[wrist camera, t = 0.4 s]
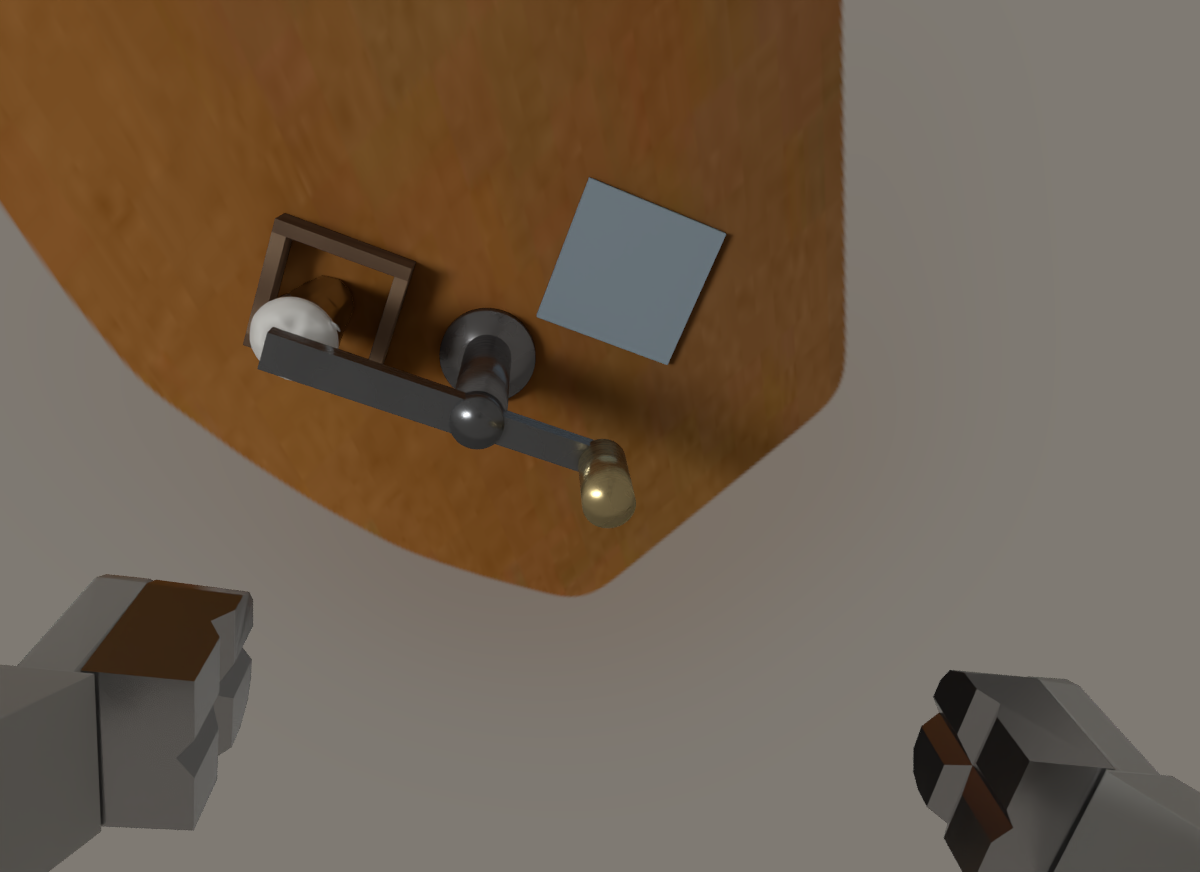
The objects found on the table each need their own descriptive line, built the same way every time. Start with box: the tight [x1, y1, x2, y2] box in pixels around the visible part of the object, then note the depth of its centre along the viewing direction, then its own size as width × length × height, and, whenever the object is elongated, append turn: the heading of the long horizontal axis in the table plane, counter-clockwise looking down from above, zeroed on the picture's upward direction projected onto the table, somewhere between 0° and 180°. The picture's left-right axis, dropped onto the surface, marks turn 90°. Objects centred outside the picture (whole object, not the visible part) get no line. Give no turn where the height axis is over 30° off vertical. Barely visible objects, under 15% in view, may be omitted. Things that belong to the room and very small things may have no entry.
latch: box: [258, 327, 636, 528], centre depth 42 cm, size 3×19×6 cm, turn 68°
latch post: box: [440, 308, 535, 410], centre depth 50 cm, size 6×6×10 cm
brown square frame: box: [243, 213, 416, 364], centre depth 52 cm, size 8×8×2 cm
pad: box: [537, 177, 726, 365], centre depth 53 cm, size 9×9×1 cm
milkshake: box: [250, 275, 354, 380], centre depth 48 cm, size 5×5×10 cm
